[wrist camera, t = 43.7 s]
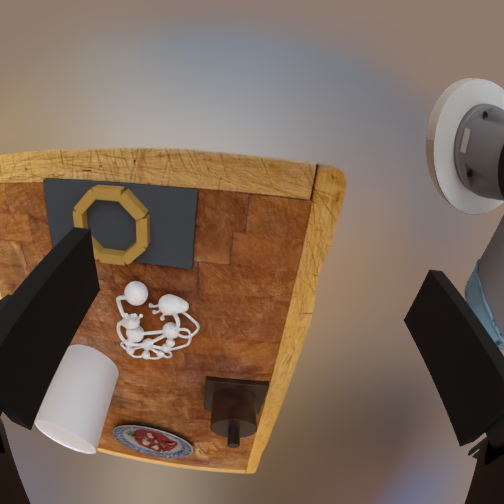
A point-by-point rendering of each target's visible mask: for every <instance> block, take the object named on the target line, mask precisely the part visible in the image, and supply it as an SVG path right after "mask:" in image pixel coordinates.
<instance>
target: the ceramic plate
mask: <svg viewBox="0 0 504 504" xmlns="http://www.w3.org/2000/svg"><path fill="white" fill-rule="evenodd" d="M113 435H114V437H115V438H116V439H117V440H118V441H119V442H121V443H122V444H124V445H125V446H127V447H129V448H131V449H133V450H135V451H138V452H141V453H144V454H147V455H151V456H156V457H162V458H182V457H186V456H189V455H190V454H192V452H193V448H192V446H191V445H190V444H189V443H188V442H187V441H185V440H183V439H182V438H180V437H178V436H175V435H173V434H170V433H168V432H164V431H161V430H158V429H154V428H149V427H144V426H136V425H122V426H118V427H115V428H114V429H113Z"/></svg>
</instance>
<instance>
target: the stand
mask: <svg viewBox="0 0 504 504" xmlns="http://www.w3.org/2000/svg"><path fill="white" fill-rule="evenodd" d="M268 387H269V382H266V381H250V380H237V379H226V378H216V377H206V388H205V403H204V410H210V411H212V413H211V430H212V431H213V432H214V433H215V434H217V435H220V436H223V437H228V447H231V448H237V447H239V446H240V438H241V437H247V436H250V435H252V434H254V433H255V432H256V431H257V414H259V411H260V408H261V406H262V403H263V400H264V398H265V395H266V392H267V390H268Z"/></svg>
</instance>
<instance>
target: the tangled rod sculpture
mask: <svg viewBox="0 0 504 504" xmlns="http://www.w3.org/2000/svg"><path fill="white" fill-rule="evenodd" d="M147 297H148V290H147V288H146V286H145V285H144V284H143V283H141V282H139V281H132V282H130V283H129V284H128V285H127V286H126V288H125V291H124V295H122V296H118V297H117V298H116V303H117V306H118V308H119V311H120V314H121V315H122V317H123V318H124V319H122V320H121V321H119V322H118V323H117V333H118V335H119V337H120V339H121V340H122V341H123V342H121V343H120V345H121V346H122V347H123V348H124V349H125V350H126V351H127V353H128V354H130V355H131V356H132V357H134V358H142V357H143V358H144V359H153V360H156V359H160V358H162V357H165V358H171V357H172V353H171V352H170V351H172V350H176V349H180V348H184V347H186V346H188V345H190V343H191V339H192V337H193V336H194V335H195V334H196V333H197V332H198V331H199V329H200V326H199V324H198V322H196V321H195V320H194V319H193V318H192V317H191V316H190V315H188V314H187V313H186V312H185V311H187V310H188V308H189V305H188V303H187V302H186V301H185V300H183V299H181V298H179V297H177V296H174V295H172V294H167V295H164V296H162V297H161V298H160V300H159V302H158V305H153V304H152V303H149V307H150V308H152V307H159V310H158V311H156V310H153V311H152V313H153V314H156V313H159V312H162V313H163V314H162V316H161V317H160V320H161V321H163V320H164V319H165V318H164V316H165V315H173V317H174V318H175V321H176V324H175V323H173V322H168V323H166V324H165V325H164V326H163V329H162V330H158V331H148V332H144V329H143V328H142V327H141V326H140V318H142V317H143V314H140V315H139V317H138V316H137V314H136V313H134V314H129V315H128V313H124V311H123V308H122V305H121V302H120V300H127V301H128V302H129V303H130V304H132V305H137V306H138V305H141V304H143V303H144V302H145V301H146V300H147ZM179 313H182V314H184V315H185V316H187V317H188V318H189V319H190V320H191V321H192V322H193V323H195V324H196V326H197V329H196V330H195V331H194V332H193V333H192V334H191V332H190V330H189V329H187V328H179V327H180V319H179V317H178V315H177V314H179ZM121 325H122V326H123V327H124V328H126V329H127V330H126V335H127V337H128V339H127V340H126V339H125V338H124V337H123V336H122V333H121V330H120V327H121ZM179 331H187V332H188V334H189V335H188V336H183V335H181V334H179ZM162 333H163V335H161V336H159V337H157V338H155V339H150V338H147V339H145V340H144V341H143V342H142V343H134V342H140V341H141V340H142V339H143V338H144V335H151V334H162ZM177 336H179V337H181V338H189V341H188V343H187V344H185V345H182V346H178V347H174V348H171V347H173V346H174V345H175V341H174V339H175V338H176V337H177ZM164 337H166V338H168V339H167V340H166V344H163V346H162V347H161V346H157V345H153V344H154V343H155V342H157V341H159V340H161V339H163V338H164ZM123 344H125V345H126V346H127V348H126V347H125V346H124V345H123ZM133 346H135V347H133ZM140 348H143V349H144V350H145V351H144V352H143V353H142V355H141V356H135V355H133V353H134V352H135V350H136V349H140ZM154 348H156V349H159V350H156V349H154ZM148 350H151V351H153V352H155V353H156V355H157V356H158V357H155V358H154V357H150V353H149V352H148ZM165 352H166V353H169V354H170V356H165Z"/></svg>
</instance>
